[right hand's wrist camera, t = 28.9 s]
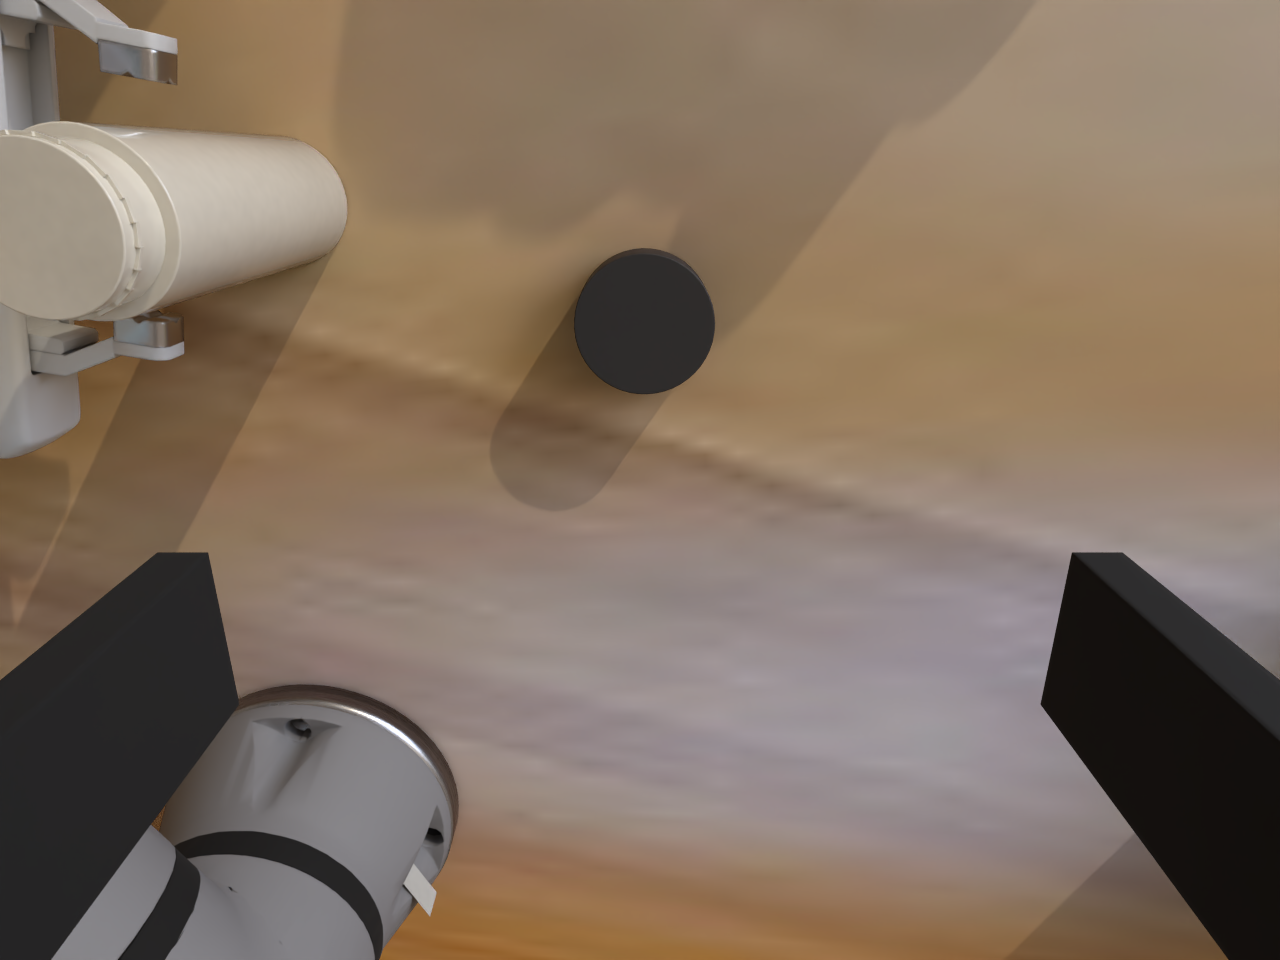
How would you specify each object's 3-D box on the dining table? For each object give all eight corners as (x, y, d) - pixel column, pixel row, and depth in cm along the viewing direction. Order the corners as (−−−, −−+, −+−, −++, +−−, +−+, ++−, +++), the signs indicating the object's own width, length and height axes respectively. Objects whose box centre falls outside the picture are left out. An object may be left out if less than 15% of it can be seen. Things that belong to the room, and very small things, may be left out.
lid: (555, 344, 38) (550, 354, 36) (615, 222, 36) (614, 226, 34) (670, 403, 39) (672, 417, 37) (735, 288, 37) (741, 296, 35)
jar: (371, 229, 36) (183, 277, 21) (272, 285, 37) (25, 369, 22) (300, 112, 35) (42, 75, 20) (198, 173, 35) (-123, 182, 20)
